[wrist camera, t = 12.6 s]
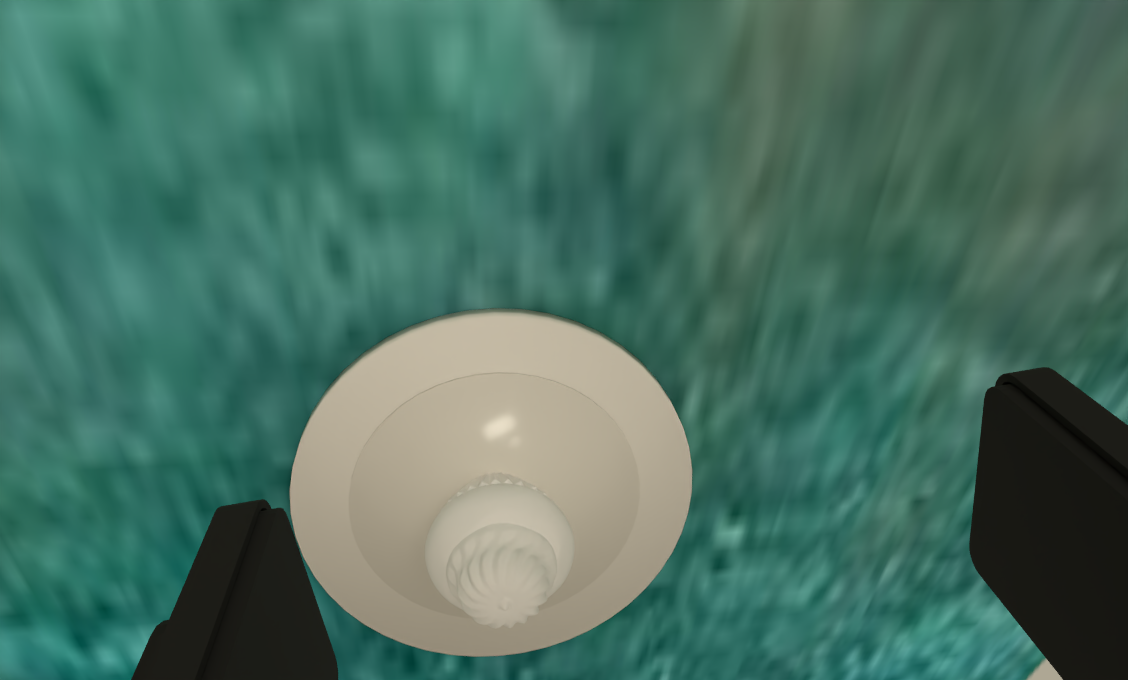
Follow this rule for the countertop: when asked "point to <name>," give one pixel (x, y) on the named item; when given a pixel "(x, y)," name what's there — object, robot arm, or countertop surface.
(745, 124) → the countertop surface
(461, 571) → the muffin
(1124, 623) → the robot arm
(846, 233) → the countertop surface
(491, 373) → the plate
